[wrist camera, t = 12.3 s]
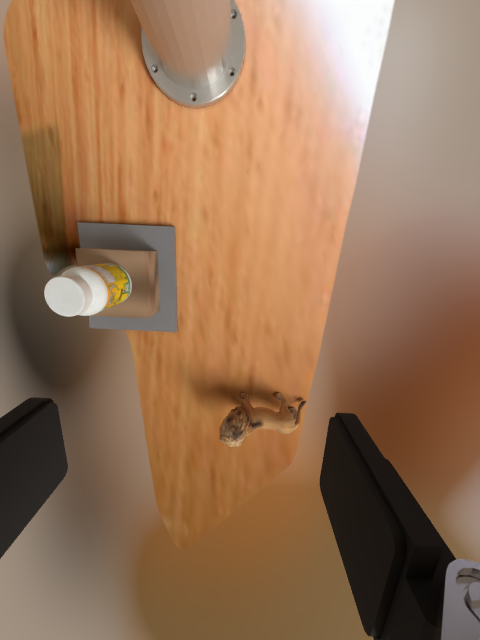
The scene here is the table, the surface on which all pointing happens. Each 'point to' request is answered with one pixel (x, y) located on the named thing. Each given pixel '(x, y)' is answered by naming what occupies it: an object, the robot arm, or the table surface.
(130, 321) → the base plate
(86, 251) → the walnut block
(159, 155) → the table surface
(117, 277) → the supplement bottle
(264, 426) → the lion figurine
